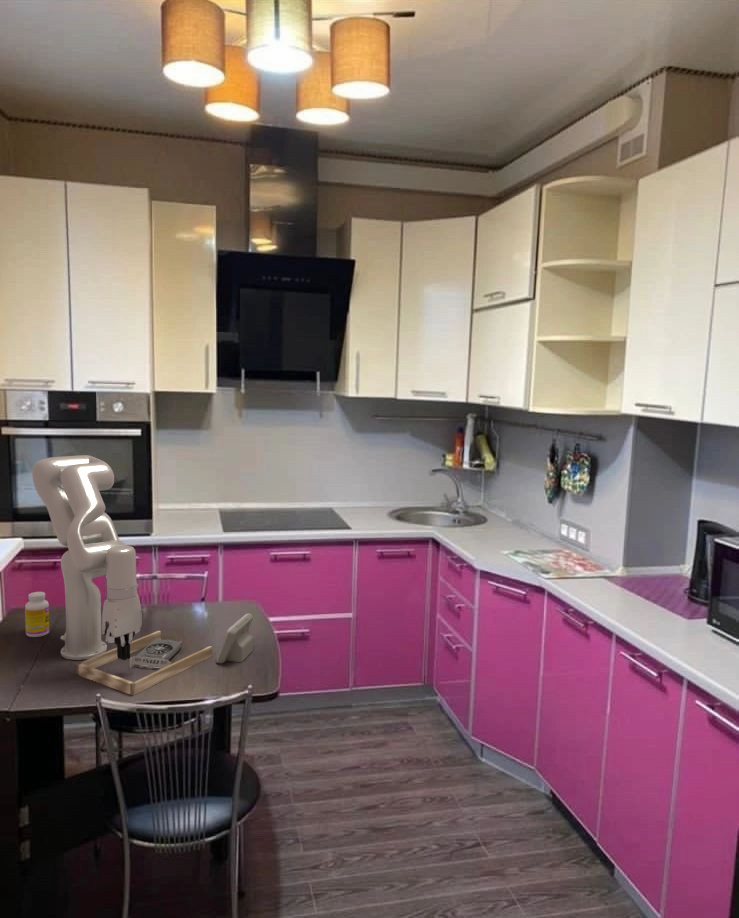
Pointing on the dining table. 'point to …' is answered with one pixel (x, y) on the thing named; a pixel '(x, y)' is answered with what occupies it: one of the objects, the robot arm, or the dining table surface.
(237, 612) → the dining table surface
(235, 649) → the digital clock
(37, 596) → the supplement bottle
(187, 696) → the dining table surface
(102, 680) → the wooden u-shaped frame
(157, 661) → the graphics card
